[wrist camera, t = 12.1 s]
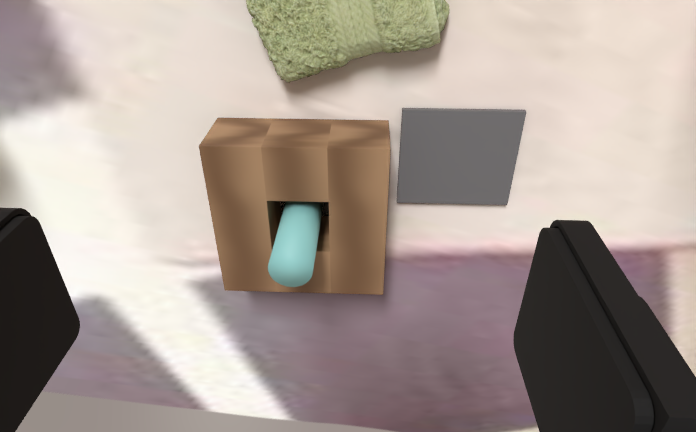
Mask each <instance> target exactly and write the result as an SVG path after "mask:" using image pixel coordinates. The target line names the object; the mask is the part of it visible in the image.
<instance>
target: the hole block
mask: <svg viewBox="0 0 696 432" xmlns="http://www.w3.org/2000/svg"><path fill="white" fill-rule="evenodd" d="M199 149H200V155H201V161H202V166H203V172H204V177H205V183H206V188H207V194H208V199H209V205H210V211H211V216H212V222H213V227H214V233H215V238H216V244H217V250H218V255H219V261H220V266H221V272H222V277H223V283H224V288H225V290H233V291H269V292H306V293H342V294H379V295H383V285H384V265H385V245H386V225H387V206H388V186H389V166H390V137H389V123H388V121H385V120H320V119H256V118H217V120H216V121H215V123H214V124H213V126H212V127H211V129H210V130H209V132H208V133H207V135H206V136H205V138H204V139H203V141H202V142H201V144H200V145H199ZM280 201H302V202H329V216H322V217H321V223H320V230H319V236H318V243H317V249H316V255H315V262H314V268H313V274H312V277H311V279H310V280H309V281H308V282H307V283H306V284H304V285H301V286H298V287H287V286H283V285H281V284H279V283H277V282H276V281H274V280H273V279H272V278H271V276H270V274H269V272H268V264H269V260H270V257H271V253H272V249H273V246H274V242H275V238H276V235H277V231H278V228H279V224H280V220H281V217H282V214H281V203H280Z"/></svg>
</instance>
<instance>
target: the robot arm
mask: <svg viewBox="0 0 696 432" xmlns="http://www.w3.org/2000/svg"><path fill="white" fill-rule="evenodd" d="M79 328H80V321H79V318H78V315H77V313H76V310H75V308H74V306H73V303H72V301H71V298H70V296H69V293H68V291H67V288H66V286H65V284H64V281H63V279H62V276H61V274H60V271H59V269H58V266H57V264H56V261H55V259H54V257H53V254H52V252H51V249H50V247H49V244H48V242H47V239H46V237H45V235H44V232H43V230H42V227H41V225H40V223H39V221H38V220H37V219H36V218H35V217H32V216H31V215H30V213H29V212H28V211H26V210H25V209H22V208H0V432H15V431H16V430H17V428H18V426H19V425H20V423H21V422H22V420H23V419H24V417H25V416H26V414H27V413H28V411H29V410H30V408H31V407H32V405H33V403H34V402H35V400H36V399H37V397H38V396H39V394H40V393H41V391H42V390H43V388H44V387H45V385H46V384H47V382H48V381H49V379H50V378H51V376H52V375H53V373H54V372H55V370H56V369H57V367H58V365H59V364H60V362H61V361H62V359H63V358H64V356H65V355H66V353H67V352H68V350H69V349H70V347H71V346H72V344H73V343H74V341H75V340H76V338H77V336H78V333H79ZM514 349H515V353H516V356H517V360H518V363H519V366H520V370H521V373H522V376H523V379H524V383H525V386H526V389H527V392H528V396H529V399H530V402H531V405H532V409H533V412H534V415H535V418H536V422H537V425H538V428H539V431H540V432H696V377H695V376H694V374H693V373H692V371H691V369H690V368H689V366H688V365H687V363H686V362H685V360H684V359H683V357H682V356H681V354H680V353H679V351H678V350H677V348H676V347H675V345H674V344H673V342H672V341H671V339H670V338H669V336H668V335H667V333H666V332H665V330H664V329H663V327H662V325H661V324H660V322H659V321H658V319H657V318H656V316H655V315H654V313H653V312H652V310H651V309H650V307H649V306H648V304H647V303H646V302H645V301H644V300H643V299H642V297H640V296H638V294H637V293H636V291H635V290H634V288H633V287H632V285H631V284H630V282H629V281H628V279H627V278H626V276H625V274H624V273H623V271H622V270H621V268H620V267H619V265H618V264H617V262H616V261H615V259H614V258H613V256H612V254H611V253H610V251H609V250H608V248H607V247H606V245H605V244H604V242H603V241H602V239H601V238H600V236H599V234H598V233H597V231H596V230H595V228H594V227H593V225H592V224H591V223H590V222H589V221H574V220H555V221H553V223H552V224H551V226H550V228H543V229H542V230H541V231H540V234H539V238H538V242H537V245H536V249H535V253H534V257H533V261H532V265H531V269H530V273H529V277H528V280H527V284H526V288H525V292H524V296H523V300H522V304H521V308H520V312H519V315H518V319H517V323H516V327H515V331H514Z"/></svg>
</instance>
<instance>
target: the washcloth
mask: <svg viewBox="0 0 696 432" xmlns="http://www.w3.org/2000/svg"><path fill="white" fill-rule="evenodd" d="M246 4H247V8H248V11H249V13H250V14H251V16H253V17H254V18H253V19H252V22H253V24H254V27H256V28H257V30H258V31H259V36H260V38H261V39H262V42H263V45H264V47H265V48H267V50H268V55H269V60H270V61H272V62H273V65H274V67H275V70H276V72H277V74H278V75H279V76H280V77H281V80H283V79H284V80H285V81H286V82H289V83H290V82H291V81H295V80H298V79H301V78H304V77H305V76H307V77H309V76H311V75H314V74H318V73H320V71H321V70H324V69H325V70H328V69H330V68H333V69H335V68H339V67H343V66H344V65H346V64H347V63H348V61H350V60H351V59H356V58H360V57H363V56H367V55H371V54H373V53H378V52H381V51H383V52H386V53H395V52H397V53H399V52H401V50H403V51H407V50H410V51H417V50H419V49H421V48H430V47H432V46H433V45H435V44H437V43H440V41H441V40H440V33H441V31H442V30H443V29H444V25H445V23H446V20H447V17H448V15H449V4H448V3H447V2H446V1H445V0H246Z"/></svg>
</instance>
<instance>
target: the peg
mask: <svg viewBox="0 0 696 432" xmlns="http://www.w3.org/2000/svg"><path fill="white" fill-rule="evenodd" d="M323 204H324V202H302V201H286V202H285V206H284V209H283V213H282V217H281V220H280V224H279V228H278V231H277V235H276V238H275V242H274V246H273V249H272V253H271V257H270V260H269V264H268V272H269V274H270V276H271V278H272V279H273V280H274V281H276V282H277V283H279V284H281V285H283V286H287V287H298V286H301V285H304V284H306V283H307V282H308V281H309V280H310V279H311V277H312V274H313V268H314V262H315V255H316V249H317V243H318V236H319V230H320V223H321V217H322V210H323Z"/></svg>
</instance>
